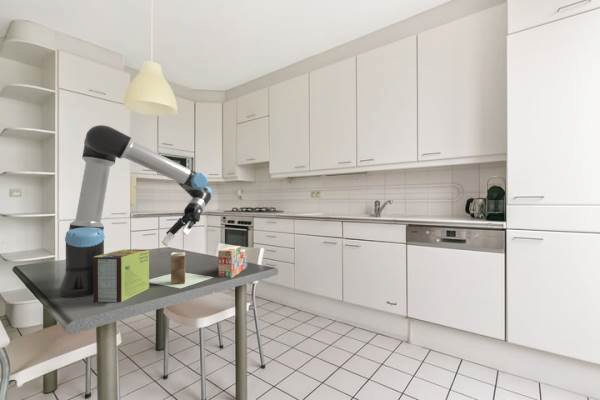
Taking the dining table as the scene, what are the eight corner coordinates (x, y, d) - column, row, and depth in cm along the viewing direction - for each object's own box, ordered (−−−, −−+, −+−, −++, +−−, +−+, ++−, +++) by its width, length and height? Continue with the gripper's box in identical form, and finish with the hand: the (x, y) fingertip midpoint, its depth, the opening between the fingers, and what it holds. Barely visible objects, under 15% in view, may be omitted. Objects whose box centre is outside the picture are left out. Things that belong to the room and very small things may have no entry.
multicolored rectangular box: (235, 267, 150) (235, 243, 150) (247, 267, 150) (247, 243, 150) (218, 278, 129) (218, 250, 129) (231, 278, 128) (231, 250, 128)
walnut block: (171, 284, 116) (170, 254, 116) (172, 281, 121) (172, 252, 121) (184, 283, 118) (184, 253, 118) (185, 280, 122) (185, 251, 122)
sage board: (142, 282, 122) (142, 281, 122) (178, 273, 138) (178, 271, 138) (180, 289, 112) (180, 288, 112) (214, 278, 128) (214, 277, 128)
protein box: (149, 289, 112) (149, 249, 112) (121, 303, 97) (121, 256, 97) (124, 289, 113) (124, 248, 113) (92, 302, 98) (92, 256, 98)
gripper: (217, 204, 140) (199, 234, 123) (183, 223, 150) (162, 253, 133) (206, 192, 137) (186, 222, 120) (172, 212, 147) (150, 242, 130)
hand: (174, 238), depth 126 cm, fingers open, 13 cm apart
